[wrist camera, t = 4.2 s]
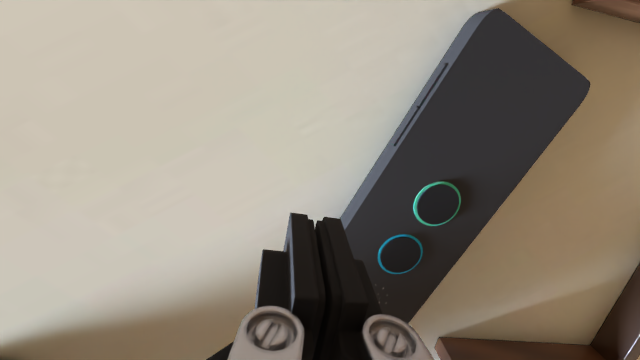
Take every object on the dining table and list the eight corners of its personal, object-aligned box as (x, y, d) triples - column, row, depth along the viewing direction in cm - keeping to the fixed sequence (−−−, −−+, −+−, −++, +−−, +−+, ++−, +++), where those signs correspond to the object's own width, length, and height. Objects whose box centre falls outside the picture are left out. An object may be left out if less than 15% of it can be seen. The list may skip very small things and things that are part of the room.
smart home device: (296, 302, 21) (492, 0, 16) (295, 284, 23) (473, 5, 18) (398, 340, 23) (599, 86, 18) (391, 322, 25) (573, 84, 20)
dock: (434, 348, 27) (449, 376, 24) (580, -20, 18) (626, -31, 15) (595, 355, 29) (622, 381, 27) (790, 40, 21) (855, 38, 18)
